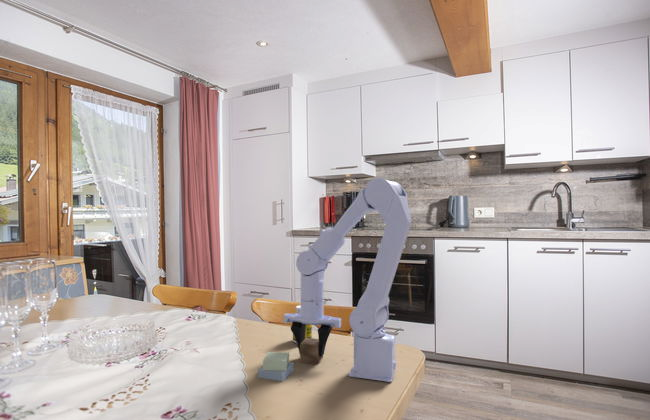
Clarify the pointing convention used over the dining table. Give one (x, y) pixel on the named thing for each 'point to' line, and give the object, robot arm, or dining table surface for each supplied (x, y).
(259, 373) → the slate slab
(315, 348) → the walnut cube
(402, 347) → the dining table surface
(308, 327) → the supplement bottle
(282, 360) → the sage block
